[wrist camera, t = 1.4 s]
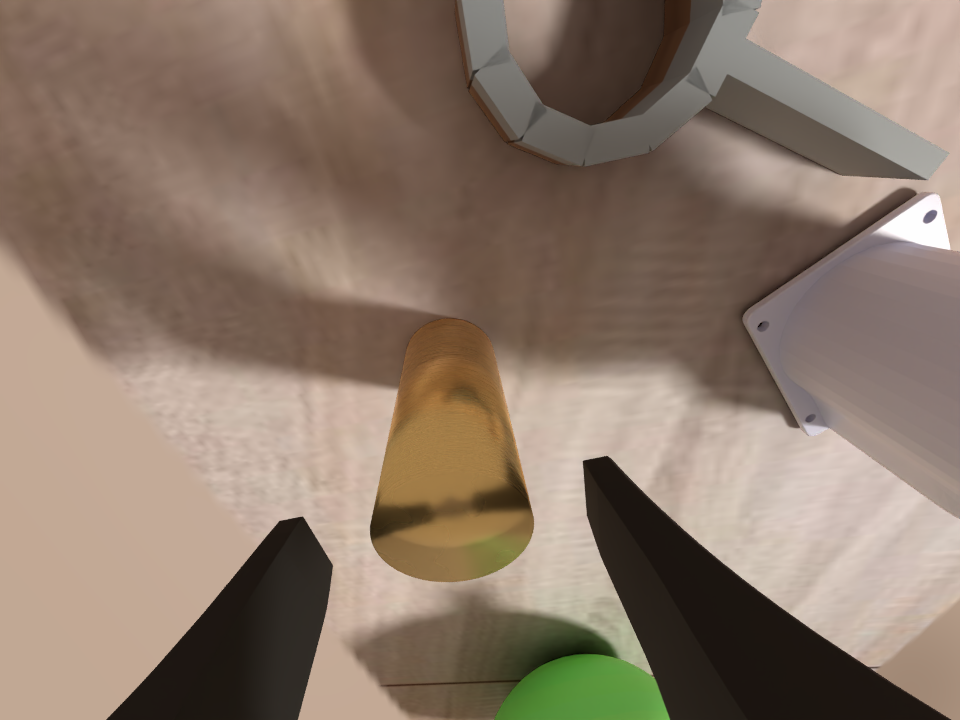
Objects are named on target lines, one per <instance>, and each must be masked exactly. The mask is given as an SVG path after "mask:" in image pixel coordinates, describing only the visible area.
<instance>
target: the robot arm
mask: <svg viewBox="0 0 960 720" xmlns="http://www.w3.org/2000/svg"><path fill="white" fill-rule="evenodd" d="M925 214H926V215H925ZM742 320H743V323H744V325H745V327H746V329H747V331H748V332H749V334H750V336H751V338H752V340H753V342H754V344H755V345H756V347H757V349H758V351H759V353H760V355H761V356H762V358H763V360H764V362H765V364H766V366H767V367H768V369H769V371H770V373H771V375H772V377H773V378H774V380H775V382H776V384H777V386H778V388H779V389H780V391H781V393H782V395H783V397H784V399H785V401H786V402H787V404H788V406H789V408H790V410H791V412H792V413H793V415H794V417H795V419H796V421H797V423H798V424H799V426H800V428H801V430H802V431H803V432H804V433H806V434H807V435H808V436H815V435H818V434H820V433H821V432H823V431H825V430H827V429H829V428H830V429H832V430H833V431H834V432H836V433H837V434H839V435H840V436H841V437H843V438H844V439H846V440H847V441H848V442H850V443H851V444H852V445H854V446H855V447H857V448H858V449H859V450H861V451H862V452H864V453H865V454H866V455H868V456H869V457H871V458H872V459H873V460H875V461H876V462H878V463H879V464H880V465H882V466H883V467H885V468H886V469H887V470H889V471H890V472H892V473H893V474H894V475H896V476H897V477H899V478H900V479H901V480H903V481H904V482H906V483H907V484H908V485H910V486H911V487H913V488H914V489H915V490H917V491H918V492H920V493H921V494H922V495H924V496H925V497H927V498H928V499H929V500H931V501H932V502H934V503H935V504H936V505H938V506H939V507H941V508H942V509H944V510H945V511H947V512H948V513H950V514H952V515H953V516H955V517H957V518H959V519H960V252H958V251H953V250H950V245H949V240H948V235H947V230H946V225H945V220H944V215H943V210H942V205H941V200H940V197H939V195H938V194H937V193H932V192H922V193H919V194H918V195H916V196H914V197H913V198H911V199H910V200H908V201H907V202H905V203H904V204H902V205H901V206H899V207H898V208H896V209H895V210H893V211H892V212H891V213H889V214H888V215H886V216H885V217H883V218H882V219H880V220H879V221H877V222H876V223H874V224H873V225H871V226H870V227H868V228H867V229H865V230H864V231H863V232H861V233H860V234H858V235H857V236H855V237H854V238H852V239H851V240H849V241H848V242H846V243H845V244H843V245H842V246H840V247H839V248H837V249H836V250H834V251H833V252H832V253H830V254H829V255H827V256H826V257H824V258H823V259H821V260H820V261H818V262H817V263H815V264H814V265H812V266H811V267H809V268H808V269H806V270H805V271H804V272H802V273H801V274H799V275H798V276H796V277H795V278H793V279H792V280H790V281H789V282H787V283H786V284H784V285H783V286H781V287H780V288H778V289H777V290H776V291H774V292H773V293H771V294H770V295H768V296H767V297H765V298H764V299H762V300H761V301H759V302H758V303H756V304H755V305H753V306H752V307H750V308H749V309H748V310H747V311H746V312H745V314H744V315H743V319H742ZM761 322H763V323H762V325H761V326H760V327H758V325H759V324H760V323H761ZM757 327H758V328H757ZM583 469H584V482H585V495H586V508H587V517H588V520H589V523H590V526H591V529H592V532H593V535H594V538H595V541H596V544H597V547H598V550H599V553H600V555H601V558H602V560H603V562H604V565H605V567H606V569H607V571H608V574H609V576H610V578H611V580H612V582H613V585H614V587H615V589H616V591H617V594H618V596H619V598H620V600H621V602H622V605H623V607H624V609H625V611H626V613H627V616H628V618H629V620H630V622H631V625H632V627H633V629H634V631H635V633H636V636H637V638H638V640H639V642H640V644H641V647H642V649H643V651H644V653H645V655H646V658H647V660H648V663H649V665H650V668H651V670H652V672H653V675H654V677H655V680H656V682H657V685H658V688H659V691H660V693H661V696H662V699H663V702H664V704H665V707H666V710H667V713H668V715H669V718H670V720H951V719H949V718H948V717H946V716H944V715H943V714H941V713H940V712H938V711H936V710H935V709H933V708H931V707H930V706H928V705H927V704H925V703H923V702H922V701H920V700H919V699H917V698H915V697H913V696H912V695H910V694H909V693H907V692H906V691H904V690H902V689H901V688H899V687H897V686H896V685H894V684H893V683H891V682H890V681H888V680H887V679H885V678H884V677H882V676H881V675H879V674H878V673H876V672H875V671H873V670H872V669H870V668H869V667H867V666H866V665H864V664H863V663H861V662H860V661H858V660H857V659H855V658H854V657H852V656H851V655H849V654H848V653H846V652H845V651H843V650H841V649H840V648H838V647H837V646H835V645H834V644H832V643H831V642H829V641H828V640H826V639H825V638H823V637H822V636H820V635H819V634H817V633H816V632H814V631H813V630H812V629H810V628H809V627H807V626H806V625H805V624H803V623H802V622H800V621H799V620H798V619H796V618H795V617H793V616H792V615H791V614H789V613H788V612H786V611H785V610H784V609H782V608H781V607H779V606H778V605H777V604H775V603H774V602H773V601H771V600H770V599H769V598H767V597H766V596H765V595H763V594H762V593H761V592H759V591H758V590H757V589H755V588H754V587H753V586H751V585H750V584H749V583H747V582H746V581H745V580H743V579H742V578H741V577H740V576H738V575H737V574H736V573H735V572H733V571H732V570H731V569H730V568H728V567H727V566H726V565H725V564H723V563H722V562H721V561H720V560H718V559H717V558H716V557H715V556H714V555H712V554H711V553H710V552H709V551H708V550H706V549H705V548H704V547H703V546H702V545H700V544H699V543H698V542H697V541H696V540H695V539H694V538H692V537H691V536H690V535H689V534H688V533H687V532H686V531H684V530H683V529H682V528H681V527H680V526H679V525H678V524H677V523H676V522H675V521H673V520H672V519H671V518H670V517H669V516H668V515H667V514H666V513H665V512H664V511H662V510H661V509H660V508H659V507H658V506H657V505H656V504H655V503H654V502H653V501H652V500H651V499H650V498H649V497H648V496H647V495H646V494H645V493H644V492H643V491H642V490H641V489H640V488H639V487H638V486H637V485H636V484H635V483H634V482H633V481H632V480H631V479H630V478H629V477H628V476H627V475H626V474H625V473H624V472H623V471H622V470H621V469H620V468H619V467H618V465H617V464H616V463H615V462H614V461H613V460H612V459H611V458H609V457H608V456H604V457H599V458H594V459H589V460H584V461H583ZM332 568H333V565H332V563H331V561H330V560H329V558H328V557H327V555H326V553H325V552H324V550H323V548H322V547H321V545H320V543H319V542H318V540H317V539H316V537H315V535H314V534H313V532H312V530H311V529H310V527H309V526H308V524H307V522H306V521H305V519H304V517H298V518H293V519H288V520H283V521H279V522H278V524H277V525H276V526H275V527H274V528H273V529H272V531H271V532H270V533H269V534H268V535H267V536H266V538H265V539H264V540H263V541H262V543H261V544H260V545H259V546H258V547H257V549H256V550H255V551H254V552H253V554H252V555H251V556H250V557H249V559H248V560H247V561H246V562H245V564H244V565H243V566H242V567H241V569H240V570H239V571H238V572H237V573H236V574H235V576H234V577H233V578H232V579H231V581H230V582H229V583H228V584H227V585H226V587H225V588H224V589H223V590H222V591H221V593H220V594H219V595H218V596H217V597H216V599H215V600H214V601H213V602H212V603H211V605H210V606H209V607H208V608H207V610H206V611H205V612H204V613H203V614H202V615H201V617H200V618H199V619H198V620H197V621H196V622H195V623H194V625H193V626H192V627H191V628H190V629H189V630H188V631H187V633H186V634H185V635H184V636H183V637H182V638H181V639H180V641H179V642H178V643H177V644H176V645H175V646H174V647H173V649H172V650H171V651H170V652H169V653H168V654H167V655H166V656H165V658H164V659H163V660H162V661H161V662H160V663H159V664H158V666H157V667H156V668H155V669H154V670H153V671H152V672H151V673H150V674H149V676H148V677H147V678H146V679H145V680H144V681H143V682H142V683H141V684H140V685H139V686H138V687H137V688H136V689H135V690H134V692H133V693H132V694H131V695H130V696H129V697H128V698H127V699H126V700H125V701H124V702H123V703H122V704H121V705H120V706H119V707H118V708H117V709H116V710H115V711H114V712H113V713H112V714H111V715H110V717H108V718H107V720H298V717H299V713H300V709H301V706H302V701H303V698H304V694H305V690H306V687H307V683H308V679H309V675H310V672H311V668H312V664H313V660H314V657H315V653H316V648H317V645H318V641H319V638H320V633H321V630H322V626H323V622H324V618H325V614H326V610H327V604H328V598H329V591H330V584H331V576H332Z"/></svg>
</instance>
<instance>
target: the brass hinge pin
mask: <svg viewBox="0 0 960 720" xmlns="http://www.w3.org/2000/svg"><path fill="white" fill-rule="evenodd" d="M533 529H534V518H533V513H532V509H531V505H530V501H529V496H528V492H527V488H526V484H525V480H524V475H523V471H522V467H521V463H520V459H519V454H518V450H517V446H516V442H515V438H514V434H513V429H512V425H511V421H510V417H509V413H508V408H507V404H506V400H505V396H504V392H503V387H502V383H501V379H500V375H499V371H498V366H497V362H496V358H495V354H494V350H493V346H492V344H491V341H490V340H489V338H488V336H487V335H486V334H485V333H484V332H483V331H482V330H481V329H480V328H479V327H477V326H476V325H474V324H472V323H470V322H467V321H465V320H461V319H454V318H446V319H439V320H436V321H433V322H430V323H428V324H426V325H424V326H423V327H422V328H420V329H419V330H418V331H417V332H416V333H415V334H414V335H413V337H412V338H411V340H410V342H409V344H408V346H407V350H406V355H405V359H404V364H403V369H402V374H401V379H400V384H399V389H398V393H397V398H396V403H395V408H394V413H393V418H392V423H391V428H390V432H389V437H388V442H387V447H386V452H385V457H384V462H383V466H382V471H381V476H380V481H379V486H378V491H377V496H376V501H375V505H374V510H373V515H372V520H371V525H370V536H371V541H372V544H373V546H374V548H375V550H376V552H377V553H378V555H379V556H380V557H381V558H382V559H383V560H384V561H385V562H386V563H387V564H389V565H390V566H391V567H393V568H394V569H396V570H398V571H400V572H402V573H404V574H406V575H409V576H412V577H415V578H418V579H422V580H428V581H436V582H458V581H466V580H471V579H476V578H480V577H483V576H486V575H489V574H491V573H494V572H496V571H498V570H500V569H502V568H503V567H505V566H507V565H508V564H510V563H511V562H512V561H514V560H515V559H516V558H517V557H518V556H519V555H520V554H521V553H522V552H523V551H524V549H525V548H526V547H527V545H528V543H529V541H530V539H531V537H532V533H533Z"/></svg>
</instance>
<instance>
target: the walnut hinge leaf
mask: <svg viewBox="0 0 960 720" xmlns="http://www.w3.org/2000/svg"><path fill="white" fill-rule="evenodd" d="M690 11H691V0H665V17H664V37H663V40H662V42H661V44H660V46H659V49H658V51H657V53H656V55H655V58H654V60H653V62H652V64H651V67H650V69H649V71H648V73H647V76H646V78H645V80H644V82H643V85H642V87H641V89H640V90H639V91H638V92H637V93H636V94H635V95H633V96H632V97H631V98H630V99H629V100H628V101H627V102H626V103H625V104H624V105H622V106H621V107H620V108H619V109H618V110H617V111H616V112H615V113H614V114H613V115H611V116H610V117H609V118H608V119H607V120H606V121H605V122H609V121H614V120H618V119H622V118H623V117H624V116H625V115H626V114H627V113H628V112H629V111H630V110H632V109H633V108H634V107H635V106H636V105H637V104H638V103H639V102H641V101H642V100H643V99H644V98H645V97H646V96H647V95H648V94H649V93H651V92H652V91H653V90H654V89H655V88H656V87H657V86H658V85H659V84H661V83H662V82H663V80H664V77H665V75H666V73H667V71H668V69H669V67H670V64H671V62H672V60H673V58H674V56H675V54H676V52H677V49H678V47H679V45H680V43H681V41H682V39H683V36H684V34H685V32H686V30H687V28H688V26H689V23H690ZM455 17H456V23H457V29H458V35H459V41H460V47H461V53H462V59H463V65H464V71H465V77H466V83H467V88H469V87H470V89H469V92H470V94H471V95H472V97H473V98H474V100H475V101H476V102H477V104H478V105H479V107H480V108H481V109H482V111H483V112H484V114H485V115H486V116H487V118H488V119H489V121H490V122H491V123H492V125H493V126H494V128H495V129H496V130H497V132H498V133H499V135H500V136H501V137H502V139H503V140H504V142H507V141H508V143H507V144H509V145H511V146H513V147H516V148H518V149H521V150H523V151H526V152H528V153H530V154H533V155H535V156H538V157H540V158H543V159H545V160H547V161H550V162H552V163H555V164H562V165H566V164H564V163H561V162H559V161H556V160H554V159H552V158H549V157H547V156H544V155H542V154H540V153H537V152H535V151H532V150H530V149H528V148H525V147H523V146H520V145H518V144H515V143H514V141H515V140H512V141H511V140H510V138H509V137H508V135H507V134H506V133H505V131H504V130H503V128H502V127H501V126H500V124H499V123H498V121H497V120H496V118H495V117H494V116H493V114H492V113H491V111H490V110H489V109H488V107H487V106H486V104H485V103H484V101H483V100H482V99H481V97H480V96H479V94H478V93H477V91H476V90H475V89H474V87H473V86H472V81H473V80H470V79H469V73H468V66H467V60H466V54H465V48H464V42H463V36H462V30H461V23H460V17H459V11H458V5H457V0H455ZM603 123H604V122H603ZM599 124H600V123H599ZM594 125H595V124H594Z"/></svg>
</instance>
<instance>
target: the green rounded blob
mask: <svg viewBox="0 0 960 720" xmlns="http://www.w3.org/2000/svg"><path fill="white" fill-rule="evenodd" d="M494 720H670V718H669V715H668V713H667V710H666V707H665V704H664V702H663V699H662V696H661V693H660V691H659V688H658V685H657V682H656V680H655V678H653V677H652V676H651V675H649V674H648V673H646V672H645V671H643V670H642V669H640V668H638V667H636V666H634V665H632V664H630V663H628V662H626V661H623V660H620V659H617V658H614V657H610V656H605V655H598V654H578V655H571V656H566V657H562V658H558V659H555V660H553V661H550V662H548V663H546V664H544V665H542V666H540V667H538V668H537V669H535V670H534V671H532V672H531V673H529V674H528V675H527V676H526V677H524V678H523V679H522V680H521V681H520V682H519V683H518V684H517V685H516V686H515V687H514V688H513V690H512V691H511V692H510V693H509V695H508V696H507V697H506V699H505V700H504V702H503V703H502V705H501V707H500V709H499V710H498V712H497V714H496V716H495V719H494Z"/></svg>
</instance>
